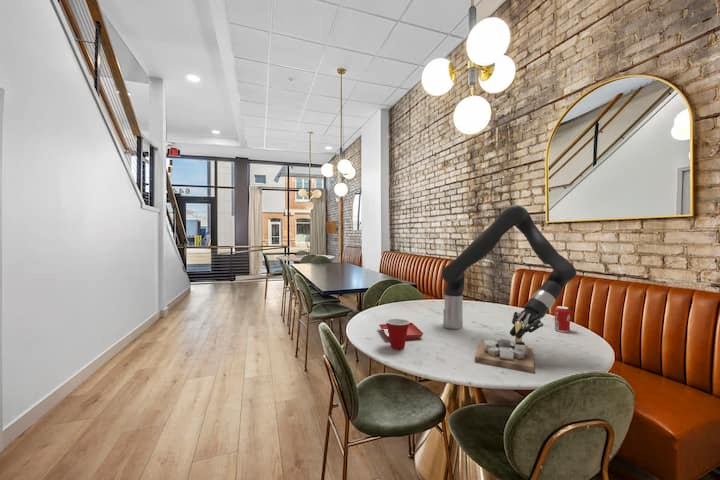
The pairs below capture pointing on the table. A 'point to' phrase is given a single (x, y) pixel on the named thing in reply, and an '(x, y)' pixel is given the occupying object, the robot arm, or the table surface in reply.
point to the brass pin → (517, 326)
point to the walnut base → (517, 364)
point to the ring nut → (505, 349)
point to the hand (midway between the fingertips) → (514, 336)
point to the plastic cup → (397, 332)
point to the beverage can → (562, 319)
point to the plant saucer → (411, 331)
